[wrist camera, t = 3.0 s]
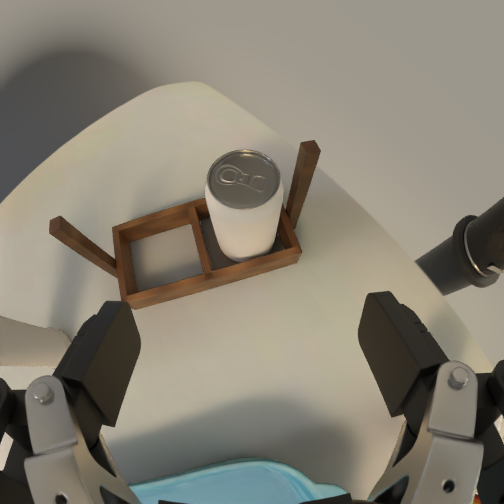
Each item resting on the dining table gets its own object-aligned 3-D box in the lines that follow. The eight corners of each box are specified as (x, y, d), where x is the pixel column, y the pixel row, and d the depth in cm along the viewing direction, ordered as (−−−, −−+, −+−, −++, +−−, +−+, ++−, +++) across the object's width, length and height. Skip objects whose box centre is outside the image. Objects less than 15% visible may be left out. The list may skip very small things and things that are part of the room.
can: (229, 206, 33) (220, 138, 22) (281, 221, 32) (295, 157, 21) (209, 254, 31) (187, 200, 20) (264, 272, 30) (272, 225, 19)
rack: (280, 192, 34) (294, 107, 21) (307, 259, 31) (345, 194, 18) (115, 241, 32) (53, 181, 18) (125, 312, 29) (49, 282, 15)
